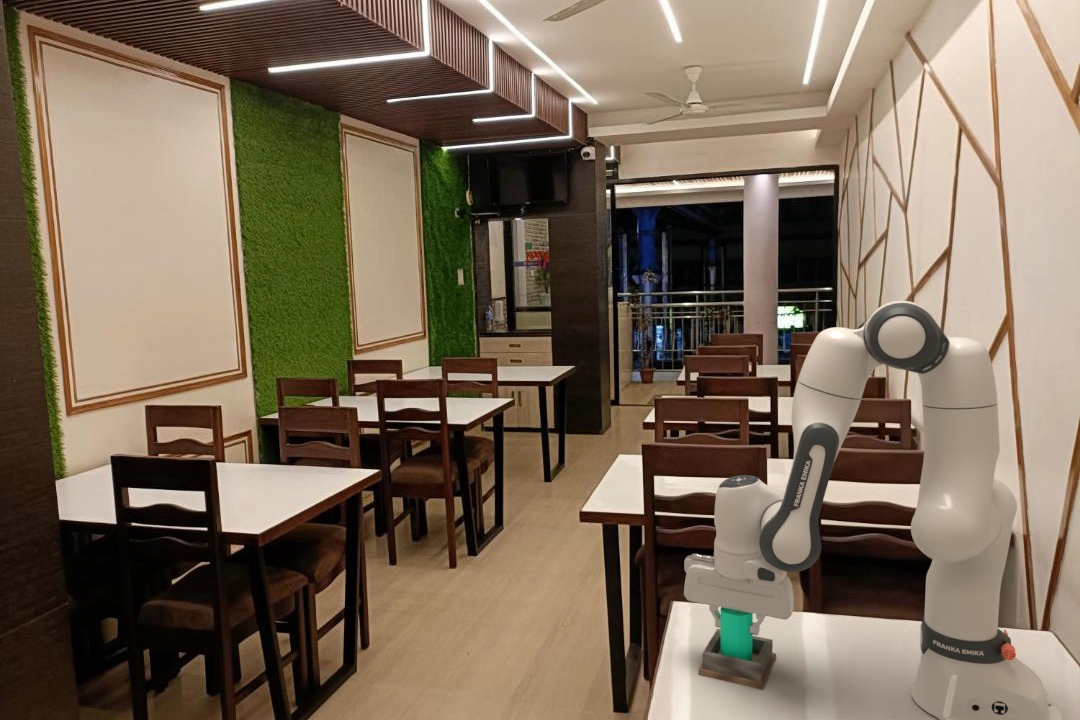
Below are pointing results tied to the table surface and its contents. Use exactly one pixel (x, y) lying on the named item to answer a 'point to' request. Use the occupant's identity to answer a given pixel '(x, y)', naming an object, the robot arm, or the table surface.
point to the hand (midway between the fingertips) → (737, 629)
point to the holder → (739, 663)
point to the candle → (736, 634)
